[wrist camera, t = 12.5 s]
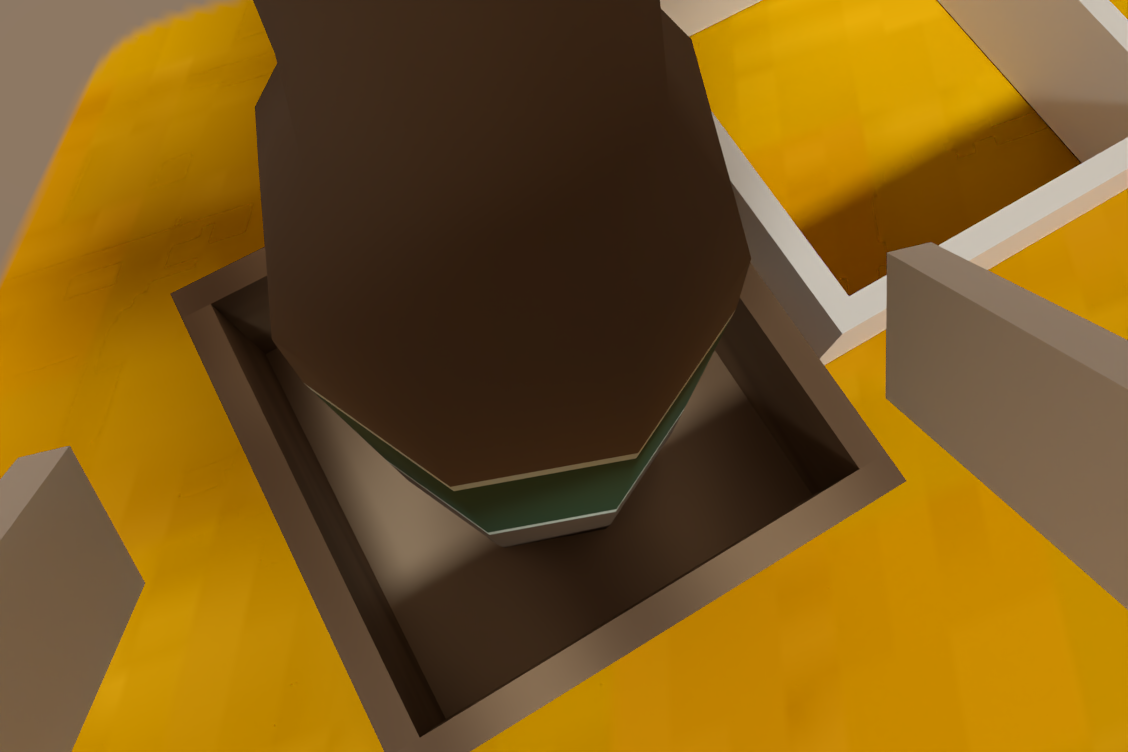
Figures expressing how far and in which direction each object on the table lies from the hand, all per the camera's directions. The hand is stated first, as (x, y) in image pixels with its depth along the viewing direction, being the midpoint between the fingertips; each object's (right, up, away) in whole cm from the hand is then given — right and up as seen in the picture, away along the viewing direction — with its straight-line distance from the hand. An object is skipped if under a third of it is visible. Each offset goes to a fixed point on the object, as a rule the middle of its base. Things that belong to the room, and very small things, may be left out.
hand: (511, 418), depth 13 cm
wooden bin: (0, -1, +12) cm, 12 cm away
